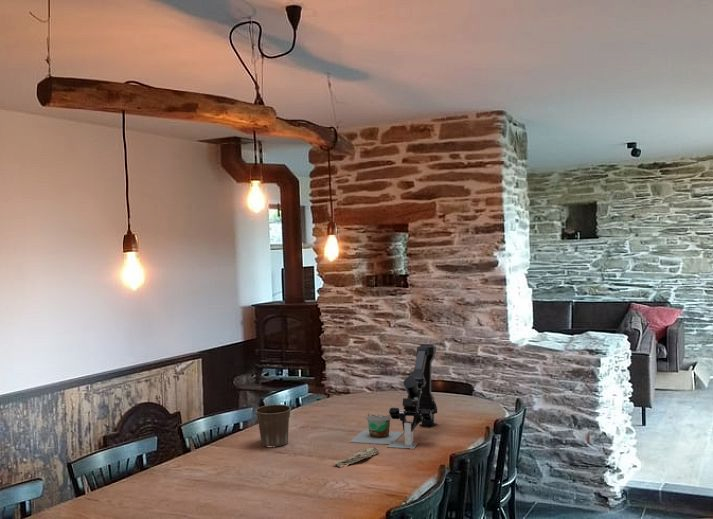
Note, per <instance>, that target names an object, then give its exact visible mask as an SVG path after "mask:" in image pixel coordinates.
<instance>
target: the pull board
mask: <svg viewBox="0 0 713 519" xmlns="http://www.w3.org/2000/svg"><path fill="white" fill-rule="evenodd" d="M412 423H413V421H409V420H407V421H406V422H405V423H404V430H403V431H391V430H389V436H388V437H385V438H373V437H370V434H369V429H363V430H362V431H360V432H359V433H358V434H357V435H355V437H353V438H352V439H351V440H349V443H354V444H355V443H356V444H369V443H370V444H372V445H373V444H374V445H385V444H389V445H387V446H386V447H387V448H388V447H395V448H394V449H404V448H410V450H415V448H416V447H417V446H418V445H417V444H419V443H418V442H414V430H413V431H412V432H411V426H412ZM403 434H404V441H397V440H398V439H399V438H401V437H402V435H403ZM416 445H417V446H416Z"/></svg>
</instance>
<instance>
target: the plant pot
mask: <svg viewBox="0 0 713 519" xmlns="http://www.w3.org/2000/svg"><path fill="white" fill-rule="evenodd" d="M291 410H292V407H291V406H289V405H288V404H287V405H285V404H270V405H269V404H268V405H263V406H260V407H256V409H255V413H256V419H257V421H258V428H259V436H260V444H262V446H263V445H264V446H277V447H282V446H281V445H284V446H286V445H287V444H288V443H289V424H290V417H291V416H290V415H291ZM285 444H286V445H285ZM264 446H263V447H264Z"/></svg>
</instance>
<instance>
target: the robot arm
mask: <svg viewBox="0 0 713 519" xmlns="http://www.w3.org/2000/svg"><path fill="white" fill-rule="evenodd" d="M436 353H437V346H435V345H434V344H433V343H421V344H419V346H416V354H417V355H416V358H415V359H416V360H415V364H414V368H413V370H412V371H411V372H410V374H409V375H408V377H406V378H405V379H404V380H403V382H402V383H403V386H404V389H405V391H406V394H407V398H406V397H405V398H402V407H403V409H400V408H399V407H390V408H389V411H388V413H389V415H390V416H391V420H399V421H400V422H401V424H402V428H403V431H404V423H405V422H406V421H408V419H407V417H413V420H412V422H413V423H412V426H411V432H412V431H413V432H414V430H415V429H416V427H417V426H418V425H419V426H421V427H425V426H426V428H431V427H434V426H437V425H438V423H437V422H435V414H438V406H437V403H436V400H435V397H434V395H433V393H432V364H433V363H432V362H433V361H434V359H435V358H436ZM420 389H421V390H420Z"/></svg>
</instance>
